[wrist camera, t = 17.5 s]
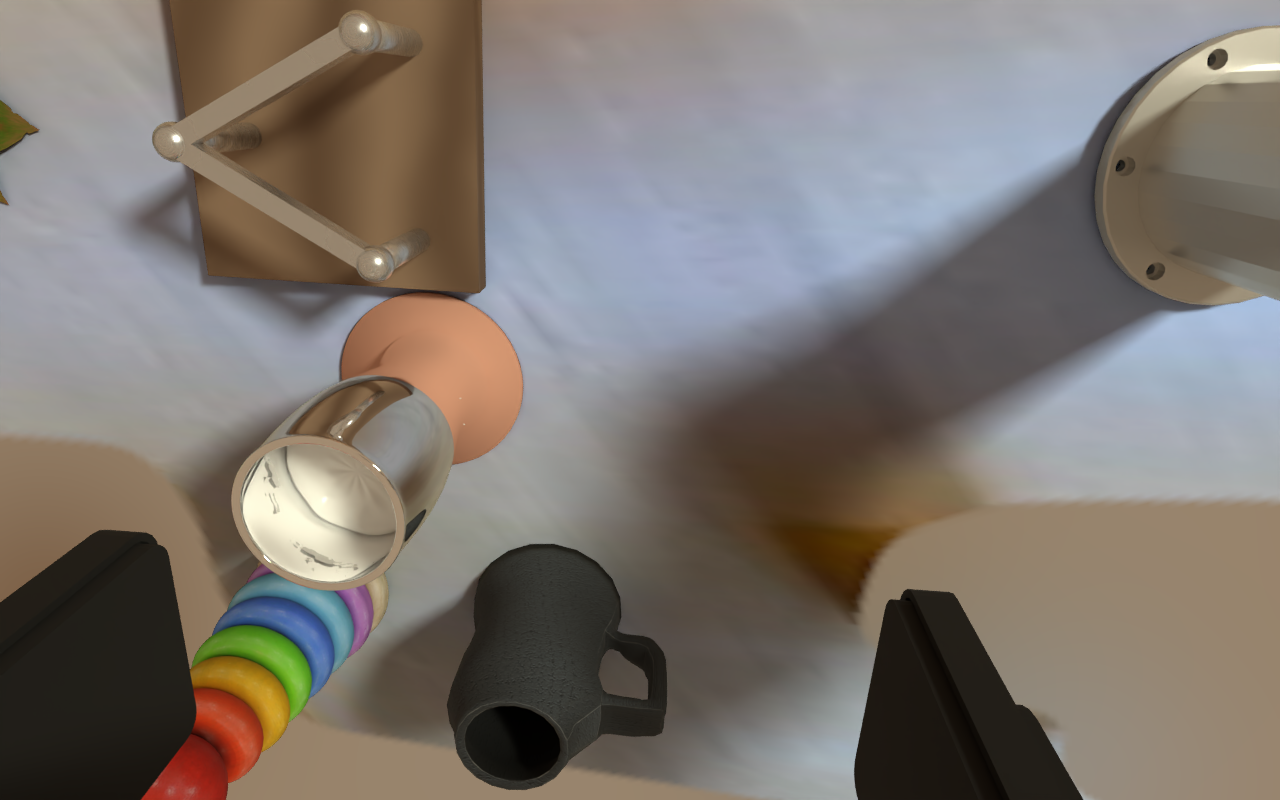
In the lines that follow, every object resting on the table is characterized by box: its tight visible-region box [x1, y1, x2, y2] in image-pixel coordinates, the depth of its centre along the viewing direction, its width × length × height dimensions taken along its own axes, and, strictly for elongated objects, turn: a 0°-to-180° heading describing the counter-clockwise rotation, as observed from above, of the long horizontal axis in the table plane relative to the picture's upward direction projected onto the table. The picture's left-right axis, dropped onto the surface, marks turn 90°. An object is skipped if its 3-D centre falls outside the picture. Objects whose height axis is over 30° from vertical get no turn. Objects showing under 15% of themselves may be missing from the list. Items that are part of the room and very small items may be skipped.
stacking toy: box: [141, 561, 389, 800], centre depth 40 cm, size 8×8×19 cm
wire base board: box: [169, 0, 486, 293], centre depth 39 cm, size 14×14×2 cm
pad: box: [342, 292, 523, 464], centre depth 44 cm, size 10×10×1 cm
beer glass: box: [231, 330, 489, 591], centre depth 36 cm, size 7×7×15 cm
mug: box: [447, 544, 667, 790], centre depth 44 cm, size 12×9×11 cm
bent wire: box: [152, 10, 430, 283], centre depth 35 cm, size 10×11×7 cm
